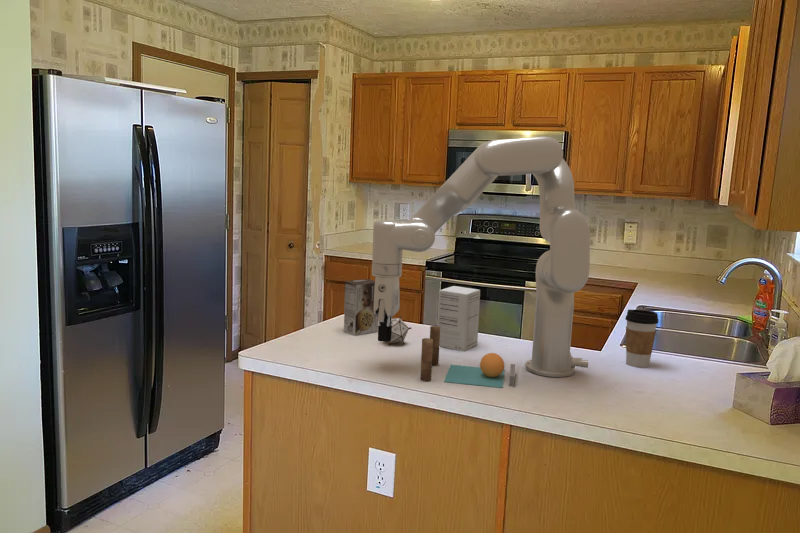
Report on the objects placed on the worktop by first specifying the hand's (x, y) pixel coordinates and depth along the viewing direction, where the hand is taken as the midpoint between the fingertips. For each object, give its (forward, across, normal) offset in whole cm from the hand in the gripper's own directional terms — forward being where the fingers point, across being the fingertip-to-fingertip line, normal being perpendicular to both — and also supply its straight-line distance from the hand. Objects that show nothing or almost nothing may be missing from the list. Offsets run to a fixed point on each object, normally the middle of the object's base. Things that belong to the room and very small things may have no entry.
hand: (384, 340), depth 156 cm
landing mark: (+7, 0, -24) cm, 25 cm away
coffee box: (+7, +33, +15) cm, 37 cm away
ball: (+4, +1, -27) cm, 28 cm away
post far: (+7, +6, -12) cm, 15 cm away
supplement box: (+7, +27, -16) cm, 32 cm away
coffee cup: (+7, +24, -66) cm, 71 cm away
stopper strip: (+7, 0, -32) cm, 33 cm away
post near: (+7, -7, -12) cm, 15 cm away
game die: (+7, +23, +2) cm, 24 cm away
